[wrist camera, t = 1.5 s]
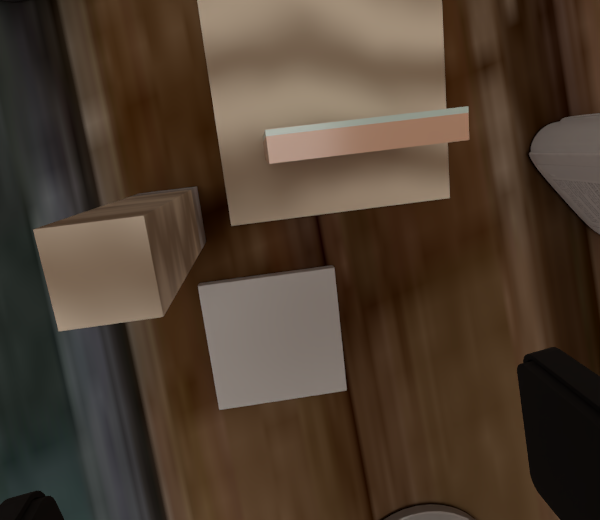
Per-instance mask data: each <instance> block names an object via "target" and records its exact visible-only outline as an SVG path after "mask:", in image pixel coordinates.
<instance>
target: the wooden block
mask: <svg viewBox="0 0 600 520" xmlns="http://www.w3.org/2000/svg"><path fill="white" fill-rule="evenodd" d="M33 231H34V235H35V239H36V243H37V247H38V251H39V255H40V259H41V263H42V267H43V271H44V275H45V279H46V283H47V287H48V290H49V294H50V298H51V302H52V306H53V310H54V314H55V318H56V322H57V326H58V330H59V331H65V330H72V329H79V328H87V327H94V326H101V325H108V324H115V323H122V322H130V321H137V320H144V319H151V318H158V317H164V315H165V313H166V311H167V310H168V308H169V306H170V304H171V303H172V301H173V299H174V297H175V296H176V294H177V292H178V290H179V289H180V287H181V285H182V283H183V282H184V280H185V278H186V276H187V275H188V273H189V271H190V269H191V268H192V266H193V264H194V262H195V261H196V259H197V257H198V255H199V254H200V252H201V250H202V248H203V247H204V245H205V243H206V237H205V231H204V225H203V219H202V213H201V207H200V201H199V195H198V189H197V187H188V188H180V189H172V190H164V191H156V192H147V193H140V194H137V195H134V196H131V197H128V198H125V199H122V200H119V201H116V202H113V203H110V204H107V205H104V206H101V207H98V208H95V209H92V210H89V211H86V212H83V213H80V214H77V215H74V216H72V217H69V218H66V219H63V220H60V221H57V222H54V223H51V224H48V225H45V226H42V227H39V228H36V229H33Z"/></svg>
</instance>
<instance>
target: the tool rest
mask: <svg viewBox="0 0 600 520" xmlns="http://www.w3.org/2000/svg"><path fill="white" fill-rule="evenodd" d="M198 290H199V296H200V302H201V308H202V313H203V319H204V325H205V331H206V336H207V342H208V348H209V354H210V359H211V365H212V371H213V377H214V382H215V388H216V394H217V400H218V405H219V410H223V409H229V408H236V407H242V406H249V405H255V404H262V403H268V402H275V401H282V400H288V399H295V398H301V397H308V396H314V395H321V394H327V393H334V392H340V391H347V387H346V377H345V367H344V357H343V347H342V338H341V328H340V318H339V308H338V298H337V288H336V279H335V269H334V266H333V265H331V266H323V267H316V268H308V269H301V270H294V271H286V272H279V273H271V274H264V275H257V276H249V277H242V278H234V279H227V280H220V281H212V282H205V283H199V285H198Z"/></svg>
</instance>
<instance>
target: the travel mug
mask: <svg viewBox="0 0 600 520" xmlns="http://www.w3.org/2000/svg"><path fill="white" fill-rule="evenodd" d="M1 1H8V2H17V1H24V0H1Z"/></svg>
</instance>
